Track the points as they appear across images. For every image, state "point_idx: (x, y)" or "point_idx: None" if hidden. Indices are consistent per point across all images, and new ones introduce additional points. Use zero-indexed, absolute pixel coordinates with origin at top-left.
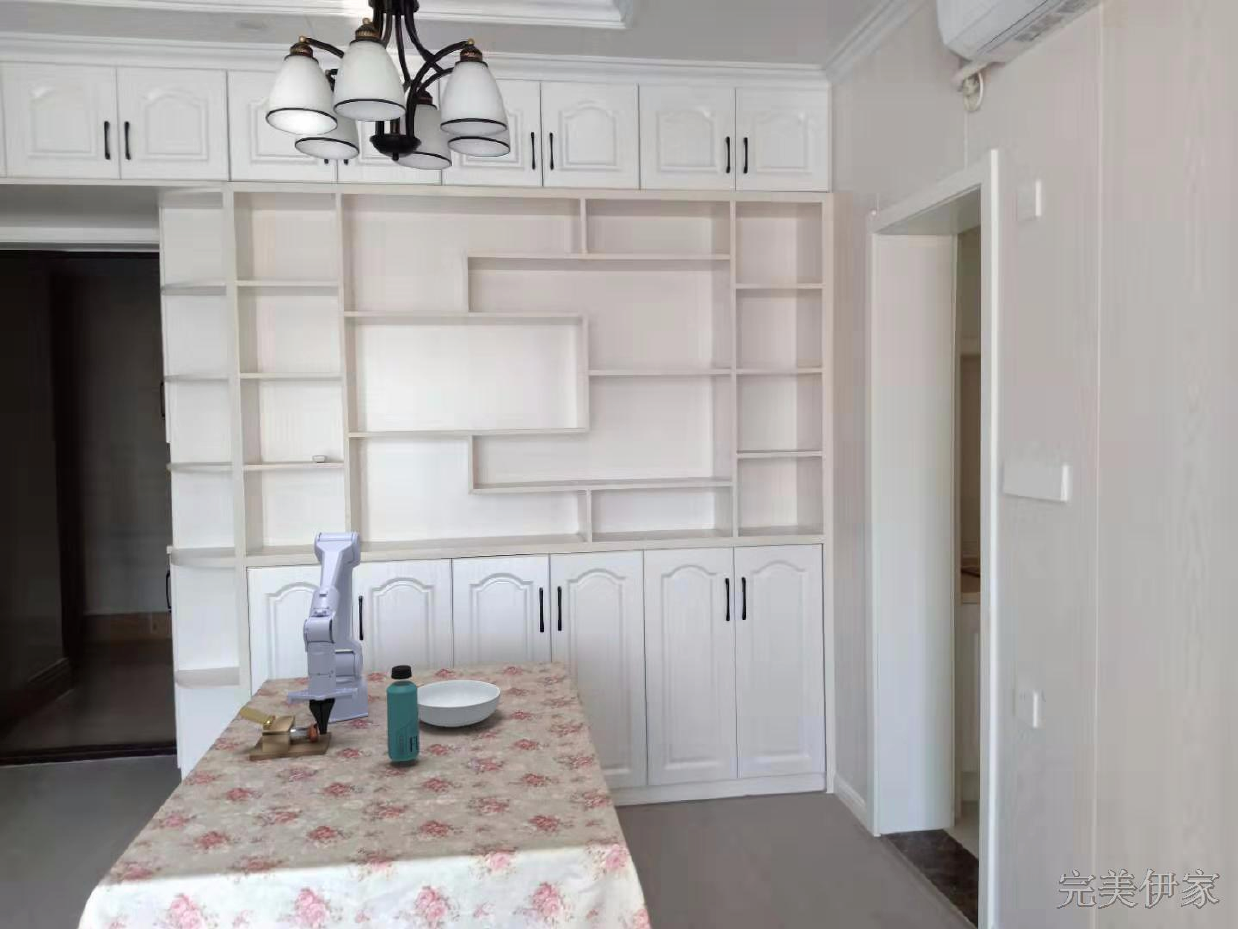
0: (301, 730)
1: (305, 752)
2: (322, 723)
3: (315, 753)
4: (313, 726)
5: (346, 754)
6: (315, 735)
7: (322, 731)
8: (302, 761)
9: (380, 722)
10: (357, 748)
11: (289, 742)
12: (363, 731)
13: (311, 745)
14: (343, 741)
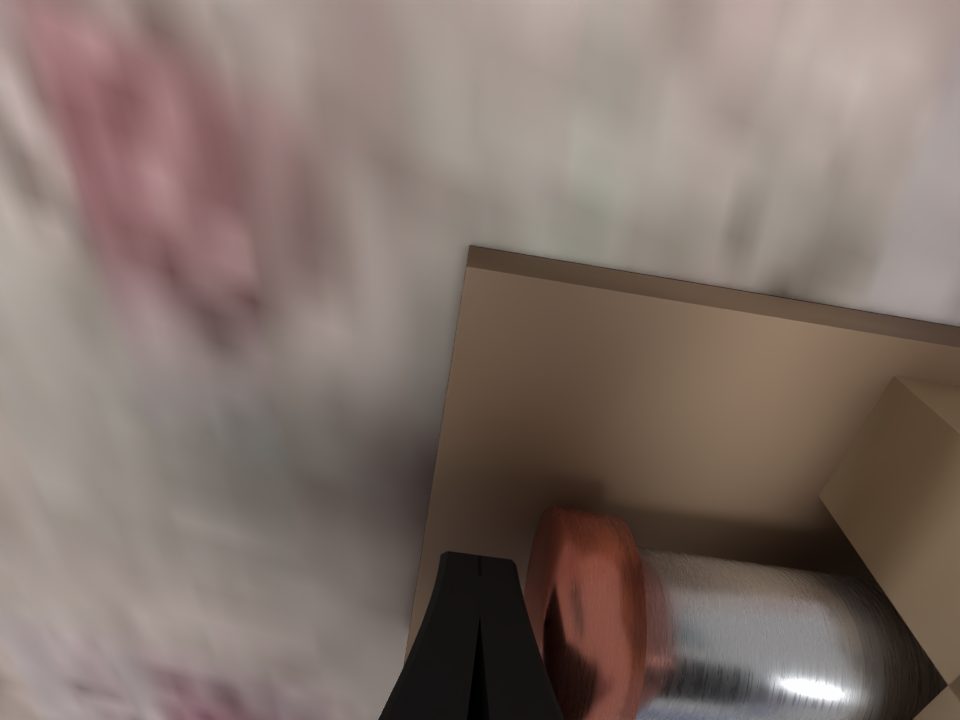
0: (750, 658)
1: (700, 302)
2: (473, 712)
3: (579, 273)
4: (602, 682)
5: (206, 150)
6: (570, 543)
7: (480, 586)
8: (761, 115)
9: (82, 717)
10: (115, 298)
11: (880, 508)
12: (167, 632)
13: (607, 451)
14: (300, 512)
